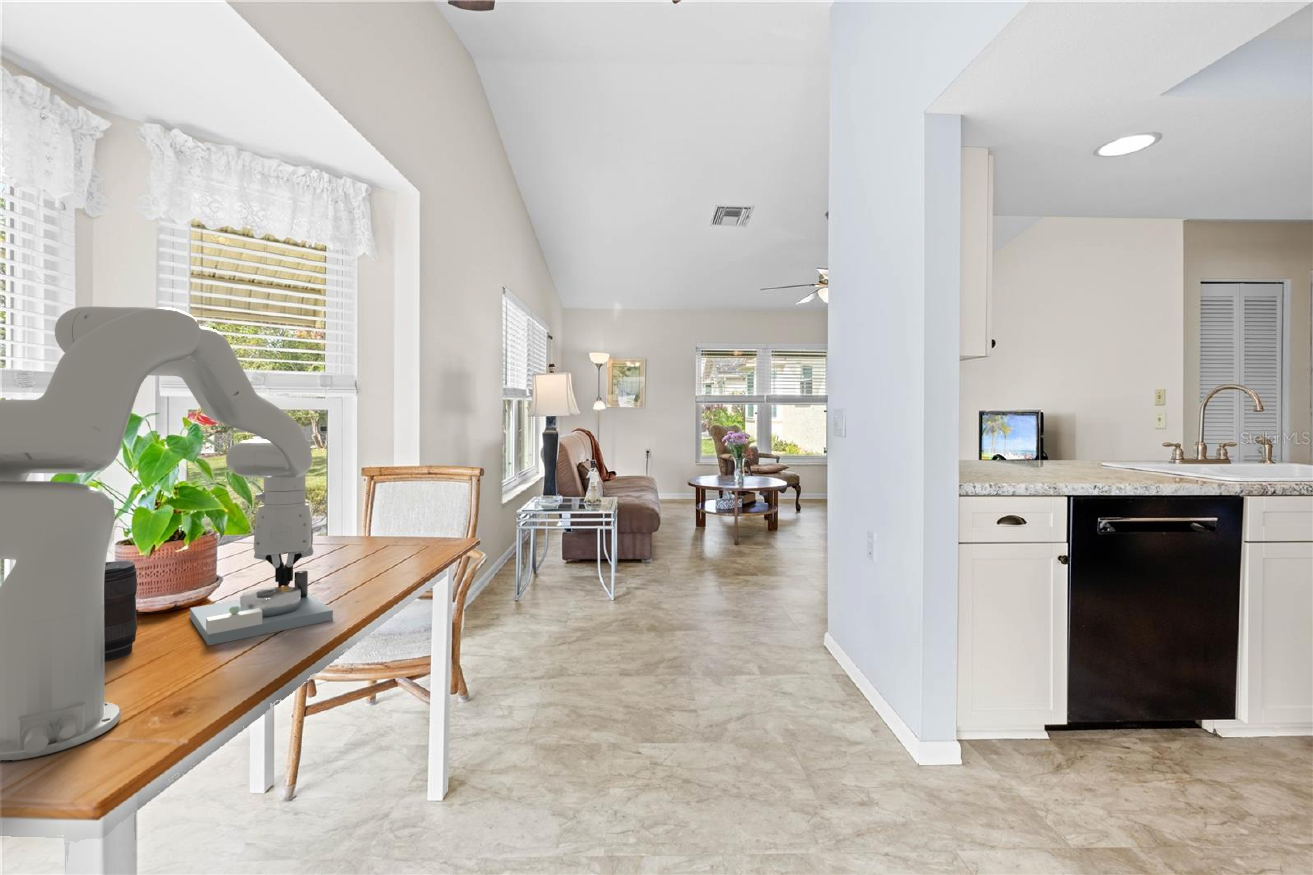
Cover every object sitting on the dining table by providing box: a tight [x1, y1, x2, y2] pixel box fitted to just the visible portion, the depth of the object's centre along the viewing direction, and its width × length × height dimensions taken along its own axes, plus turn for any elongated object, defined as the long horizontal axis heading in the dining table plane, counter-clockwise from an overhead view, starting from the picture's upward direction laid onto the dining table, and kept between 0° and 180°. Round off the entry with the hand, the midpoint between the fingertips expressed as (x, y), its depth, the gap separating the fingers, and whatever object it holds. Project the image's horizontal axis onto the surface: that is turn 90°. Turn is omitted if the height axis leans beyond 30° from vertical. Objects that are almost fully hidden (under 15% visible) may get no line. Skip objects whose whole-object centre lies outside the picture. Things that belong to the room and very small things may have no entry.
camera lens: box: [104, 560, 138, 662], centre depth 98 cm, size 8×8×15 cm
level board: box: [189, 592, 334, 646], centre depth 118 cm, size 20×20×6 cm
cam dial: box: [239, 570, 309, 617], centre depth 119 cm, size 15×10×5 cm
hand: (284, 584), depth 125 cm, fingers closed
